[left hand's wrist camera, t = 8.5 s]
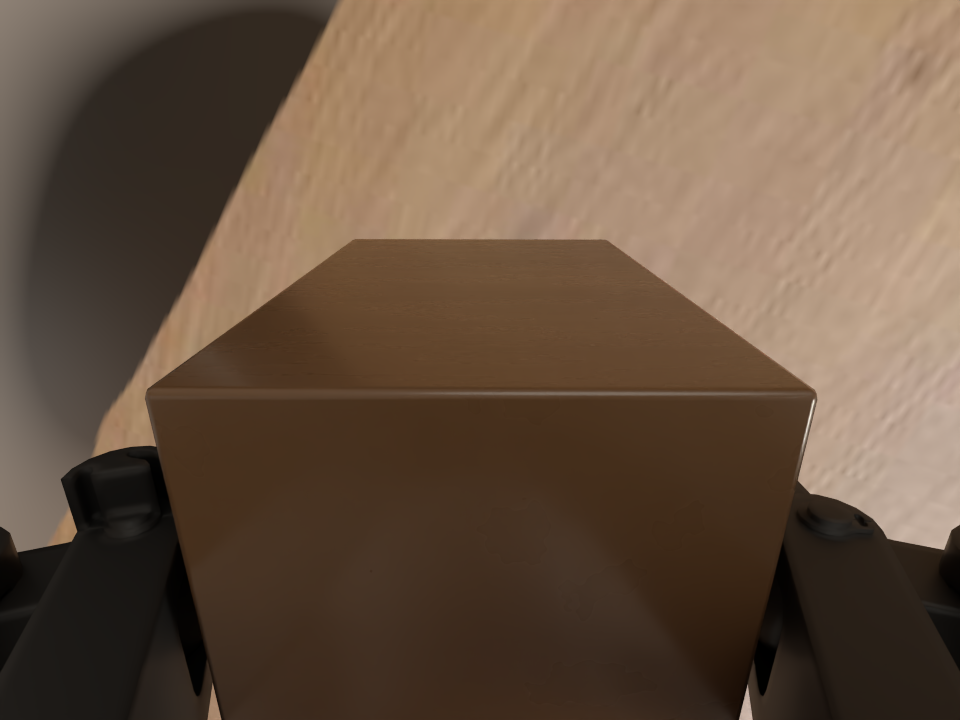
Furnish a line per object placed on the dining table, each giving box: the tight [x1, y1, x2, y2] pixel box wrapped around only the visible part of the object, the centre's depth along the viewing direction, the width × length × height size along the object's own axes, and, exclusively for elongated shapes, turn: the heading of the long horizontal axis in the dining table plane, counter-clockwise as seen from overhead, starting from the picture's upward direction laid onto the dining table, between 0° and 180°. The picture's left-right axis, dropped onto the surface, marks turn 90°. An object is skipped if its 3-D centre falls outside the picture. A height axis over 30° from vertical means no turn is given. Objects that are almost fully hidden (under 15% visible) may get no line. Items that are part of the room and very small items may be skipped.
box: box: [145, 239, 817, 720], centre depth 13 cm, size 21×6×9 cm, turn 0°
